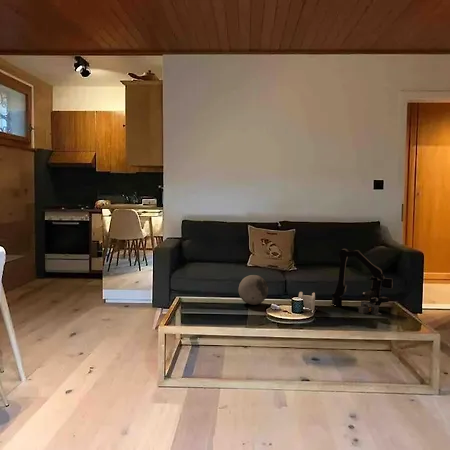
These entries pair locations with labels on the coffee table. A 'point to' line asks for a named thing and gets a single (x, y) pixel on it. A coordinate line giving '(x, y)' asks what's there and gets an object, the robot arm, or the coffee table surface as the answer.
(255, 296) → the moon model
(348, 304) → the coffee table surface
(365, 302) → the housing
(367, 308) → the plug
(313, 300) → the cable organizer
